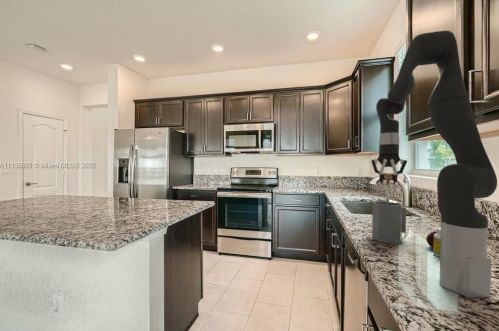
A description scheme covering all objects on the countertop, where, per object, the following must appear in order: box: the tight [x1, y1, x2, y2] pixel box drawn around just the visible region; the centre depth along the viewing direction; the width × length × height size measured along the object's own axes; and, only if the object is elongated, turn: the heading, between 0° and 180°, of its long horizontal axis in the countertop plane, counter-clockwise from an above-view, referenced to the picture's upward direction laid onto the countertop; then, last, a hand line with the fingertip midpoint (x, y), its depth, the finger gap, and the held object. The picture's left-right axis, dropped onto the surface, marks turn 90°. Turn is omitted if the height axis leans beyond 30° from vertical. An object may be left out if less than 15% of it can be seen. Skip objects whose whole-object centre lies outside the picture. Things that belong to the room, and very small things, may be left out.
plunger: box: [383, 172, 394, 205], centre depth 104 cm, size 8×8×18 cm
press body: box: [371, 200, 407, 245], centre depth 104 cm, size 11×14×16 cm
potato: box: [426, 230, 437, 249], centre depth 94 cm, size 7×8×7 cm
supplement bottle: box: [432, 227, 441, 258], centre depth 87 cm, size 5×5×10 cm
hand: (387, 183), depth 104 cm, fingers closed on plunger, 4 cm apart
